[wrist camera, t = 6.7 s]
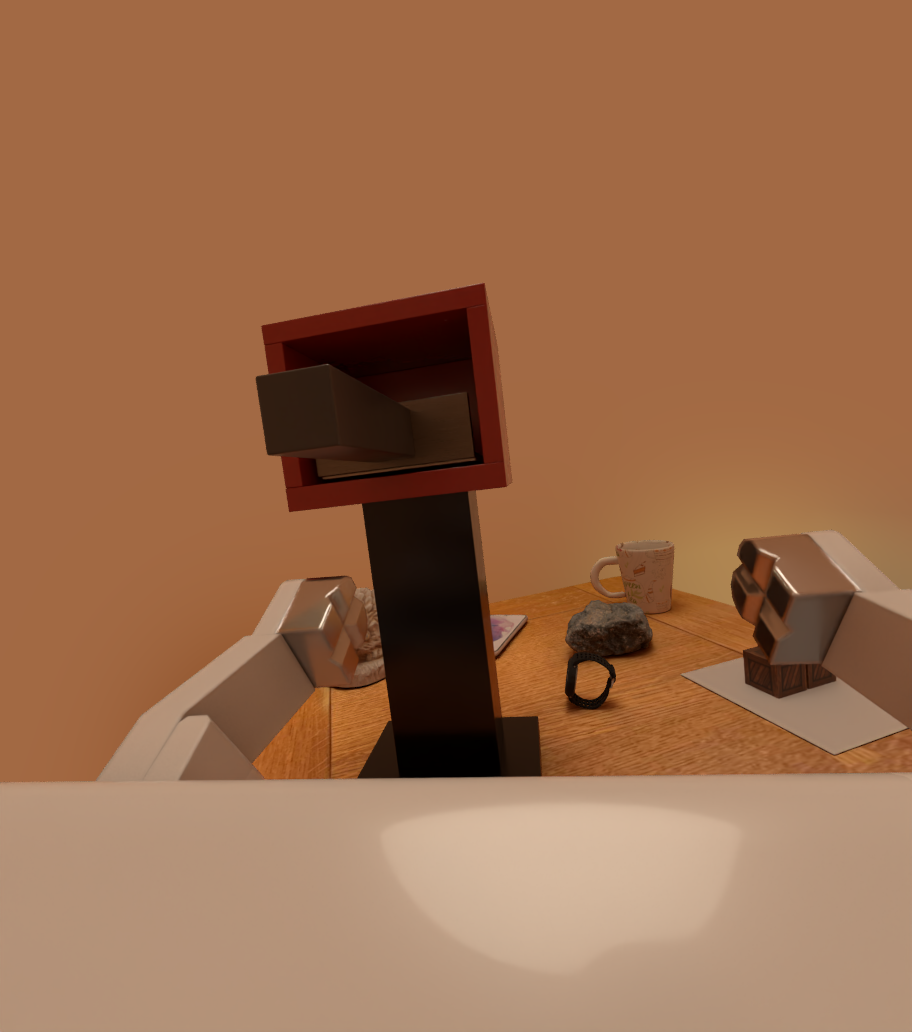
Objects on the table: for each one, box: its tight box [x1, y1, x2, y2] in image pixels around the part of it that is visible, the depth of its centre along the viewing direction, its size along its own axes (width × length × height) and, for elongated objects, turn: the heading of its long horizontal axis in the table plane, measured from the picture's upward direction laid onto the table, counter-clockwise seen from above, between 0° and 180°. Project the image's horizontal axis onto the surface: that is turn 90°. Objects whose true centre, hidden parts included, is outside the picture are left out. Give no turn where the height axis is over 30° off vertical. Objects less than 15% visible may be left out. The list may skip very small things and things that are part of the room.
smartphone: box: [490, 615, 528, 656], centre depth 64 cm, size 7×1×15 cm
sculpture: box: [337, 588, 386, 688], centre depth 60 cm, size 12×17×10 cm
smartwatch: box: [565, 652, 616, 709], centre depth 42 cm, size 4×5×5 cm
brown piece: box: [256, 364, 484, 480], centre depth 27 cm, size 21×10×4 cm, turn 171°
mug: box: [590, 540, 674, 614], centre depth 69 cm, size 8×13×10 cm, turn 73°
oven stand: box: [262, 283, 542, 779], centre depth 33 cm, size 12×14×34 cm
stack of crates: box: [681, 646, 908, 755], centre depth 41 cm, size 15×15×7 cm
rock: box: [565, 600, 652, 656], centre depth 55 cm, size 12×10×5 cm
